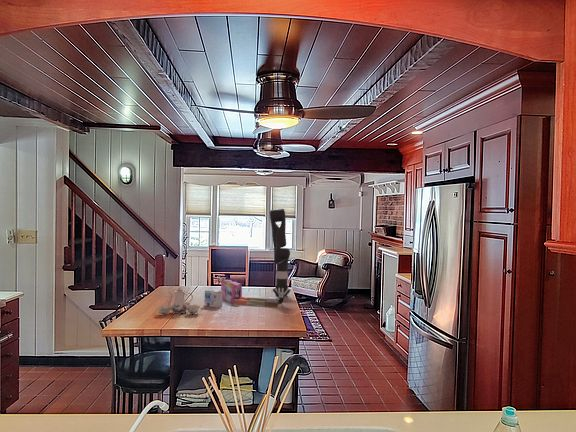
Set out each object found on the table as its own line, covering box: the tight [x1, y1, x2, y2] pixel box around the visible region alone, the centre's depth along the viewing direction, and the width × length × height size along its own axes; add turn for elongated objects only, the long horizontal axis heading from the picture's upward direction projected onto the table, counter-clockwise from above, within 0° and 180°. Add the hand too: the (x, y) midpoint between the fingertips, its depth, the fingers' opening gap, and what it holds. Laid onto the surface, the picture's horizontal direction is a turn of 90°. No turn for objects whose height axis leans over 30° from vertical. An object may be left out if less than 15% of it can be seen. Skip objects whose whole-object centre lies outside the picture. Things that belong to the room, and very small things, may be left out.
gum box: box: [220, 278, 243, 303], centre depth 336 cm, size 24×8×14 cm, turn 29°
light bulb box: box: [204, 288, 223, 308], centre depth 313 cm, size 11×7×11 cm, turn 62°
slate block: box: [266, 296, 279, 302], centre depth 313 cm, size 6×6×5 cm
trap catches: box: [234, 296, 252, 306], centre depth 319 cm, size 11×8×3 cm
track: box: [233, 297, 283, 309], centre depth 316 cm, size 14×31×4 cm, turn 75°
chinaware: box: [155, 286, 203, 316], centre depth 288 cm, size 28×17×17 cm, turn 105°
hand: (281, 302), depth 312 cm, fingers closed
